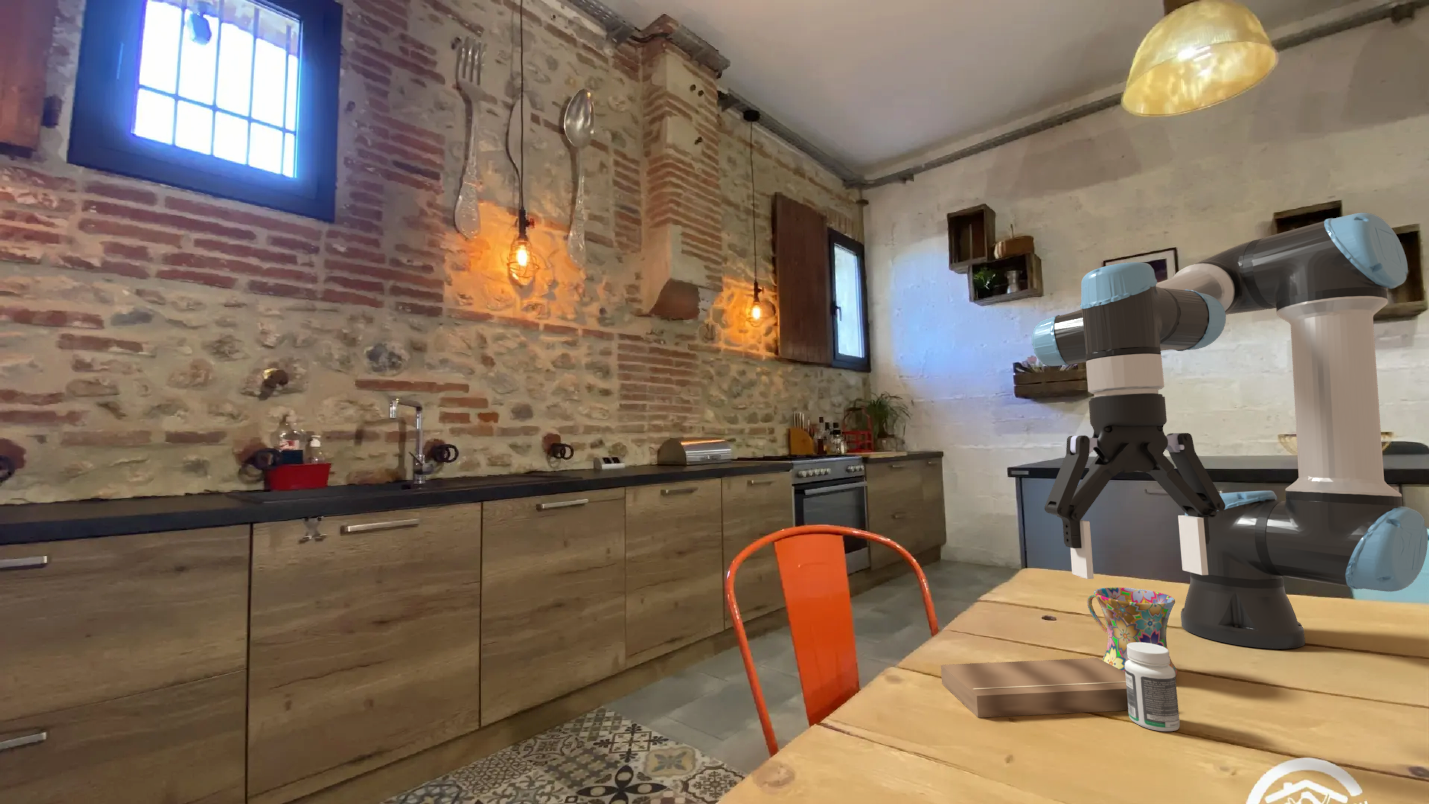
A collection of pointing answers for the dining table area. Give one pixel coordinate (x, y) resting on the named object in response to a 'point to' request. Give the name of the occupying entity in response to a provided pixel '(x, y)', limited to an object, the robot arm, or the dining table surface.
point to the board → (1037, 687)
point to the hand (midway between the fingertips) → (1139, 574)
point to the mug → (1131, 620)
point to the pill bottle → (1151, 687)
